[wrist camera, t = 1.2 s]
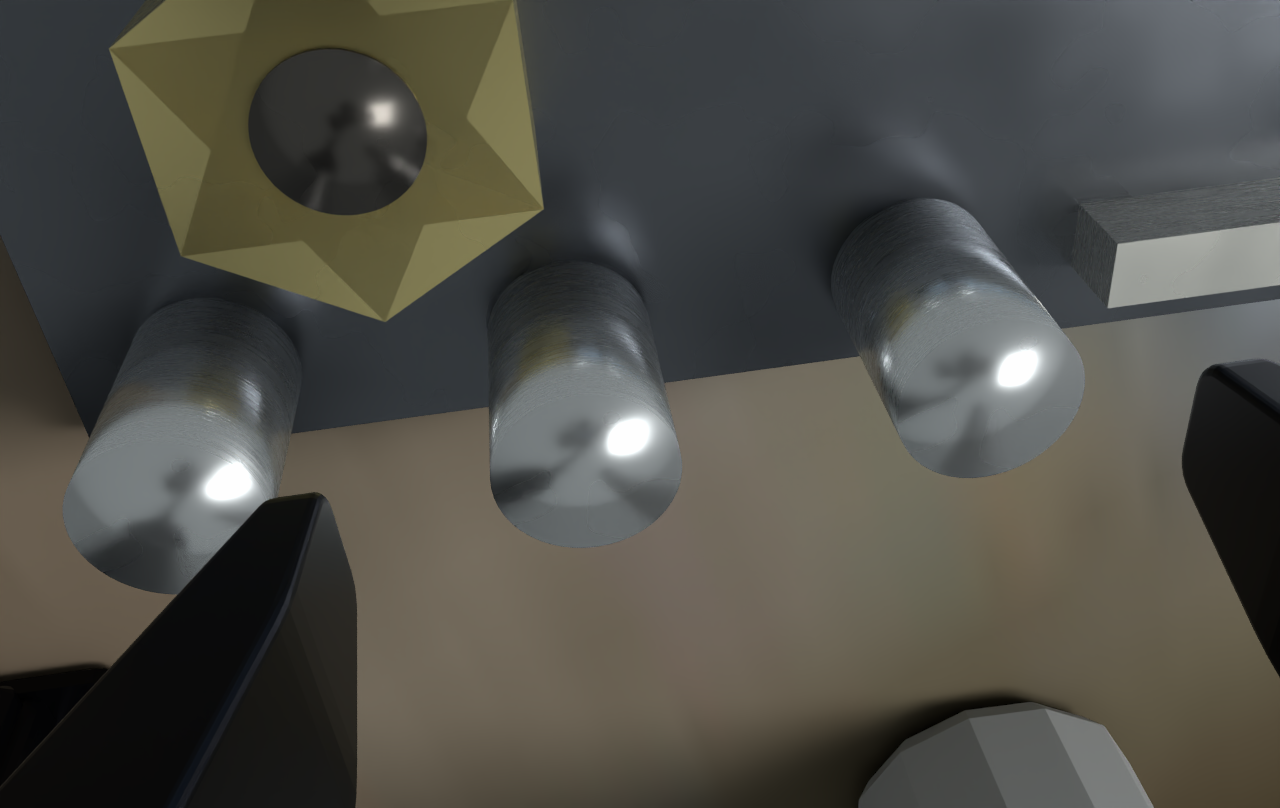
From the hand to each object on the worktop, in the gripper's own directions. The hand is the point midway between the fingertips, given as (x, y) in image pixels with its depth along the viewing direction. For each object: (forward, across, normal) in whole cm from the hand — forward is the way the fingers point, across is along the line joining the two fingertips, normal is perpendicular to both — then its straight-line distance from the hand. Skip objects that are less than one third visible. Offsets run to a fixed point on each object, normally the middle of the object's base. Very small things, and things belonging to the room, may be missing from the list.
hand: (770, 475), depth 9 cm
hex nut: (+11, +4, 0) cm, 12 cm away
